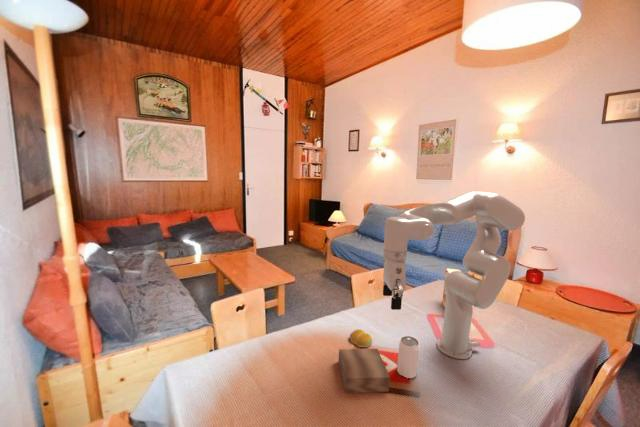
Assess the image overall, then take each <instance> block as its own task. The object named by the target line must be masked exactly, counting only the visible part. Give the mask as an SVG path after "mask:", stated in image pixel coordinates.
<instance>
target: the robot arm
mask: <svg viewBox="0 0 640 427" xmlns="http://www.w3.org/2000/svg"><path fill="white" fill-rule="evenodd" d="M525 216H526V215H525V213H524V211H523V209H522V208H520V206H518V205H516V204H515V203H513V202H512V201H510V200H509V199H507V198H506V197H504V196H502V195H500V194H498V193H496V192H488V191H478V190H474V191H473V190H472V191H469V192H466V193H463V194H461V195H458V196H455V197H453V198H451V199H448V200H445V201H442V202H437V203H436V202H435V203H432V204H426V205H422V206H421V205H420V206H417V207H414V208H411V209H408V210H406V211H403V212H401V213H400V214H398V216H389V217H387V218H386V219H385V222H384V234H383V235H384V239H383V240H384V241H383V251H382V254H383V256H382V258H383V259H384V264H383V275H382V276H383V277H382V278H383V288H382V296H384V297H390V296H391V303H390V309H391V310H392V311H393V310H394V311H395V310H396V311H397V310H398V311H399V310H402V300H403V296H404V294H403V293H404V291H405V290H406V275H407V273H406V271H407V270H406V261H407V253H408V244H409V243H408V242H409V240H413V241H425V240H426V241H427V240H428V239H429V238H431V237H432V236H433V234H434V232H435V227H434V225H435V226H436V225H438V226H450V225H451V226H452V225H455V224H458V223H460V222H462V221H465V220H467V219H469V218H472V217H474V218H475V221H476V226H477V231H476V232H477V233H476V236H475V237H474V240H473V242H472V243H471V245H470V246H469V249H468V250H467V251H466V253H465V255H464V257H463V258H462V266H463V267H464V269H466V270H467V271H469V272H471V273H473V274H475V275H478V276H480V277H482V278H481V279H480V278H477V277H475V276H473V275H471V274H469V273H466V272H464V271H461V270H460V271H453V272H451V273H449V274H448V276H447V277H446V280H445V279H444V282H445V290H446V305H445V307H444V313H443V314H444V315H443V322H442V332H441V337H440V338H438V339H437V340H436V348H437V349H438V350H439V351H440V352H441V353H443V354H444V355H445V356H448V357H450V358H454V359H458V360H466V359H469V358H471V356H472V353H473V350H472V348H473V347H475V348H478V347H481V344H480V341H476V340H475V341H474V340H473V338H472V337H471V338H470V334H471V327H472V318H473V313H474V309H473V307H475V308H477V309H480V310H486V309H488V308H489V307H491V306H492V305H493V303H494V302H495V301H496V299H497V297H498V296H499V294H500V293H501V291H502V290H503V287H504V286H505V284H506V282H507V280H508V278H509V276H510V273H511V270H512V269H511V268H512V267H511V263H510V261H509V259H507V257H505V256H504V255H503V256H502V255H500V254H498V253H497V252H498V250H499V249H500V247H501V244H502V236H501V234H500V232H499V229H501V230H505V231H510V232H511V231H512V232H513V231H517V230H519V229H520V228H522V227H523V226H524V223H525V221H526V217H525Z"/></svg>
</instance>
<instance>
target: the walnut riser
mask: <svg viewBox="0 0 640 427" xmlns="http://www.w3.org/2000/svg"><path fill="white" fill-rule="evenodd" d="M382 358H383V357H382V356H381V354H380V352H379V350H378V348H341V349H339V350H338V366H339V372H340V376H341V380H342V385H343V390H344V393H345V394H346V393H347V394H349V393H381V392H385V393H386V392H389V391H390V383H391V382H390V380H391V377H390V374H389V373H388V370H387V368H386V365H385V364H384V361H383V359H382Z"/></svg>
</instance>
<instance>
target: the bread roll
mask: <svg viewBox="0 0 640 427" xmlns="http://www.w3.org/2000/svg"><path fill="white" fill-rule="evenodd" d="M349 339H350V342H351V343H352V344H354V345H355V346H357V347H358V348H369V347H371V345H372V343H373V338H372V336H371V335H370V334H369V333H366V332H365V331H364V330H363V329H355V330H353V331H352V332H350V334H349Z"/></svg>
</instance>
